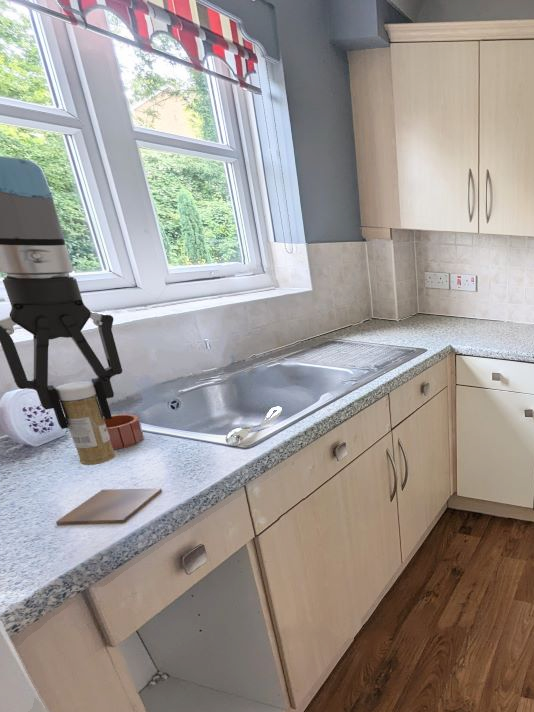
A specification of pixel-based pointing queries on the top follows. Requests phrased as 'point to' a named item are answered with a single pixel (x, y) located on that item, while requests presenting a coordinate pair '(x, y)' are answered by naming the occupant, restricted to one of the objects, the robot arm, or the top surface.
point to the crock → (124, 430)
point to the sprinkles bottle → (86, 422)
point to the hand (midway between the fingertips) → (85, 421)
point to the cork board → (110, 506)
